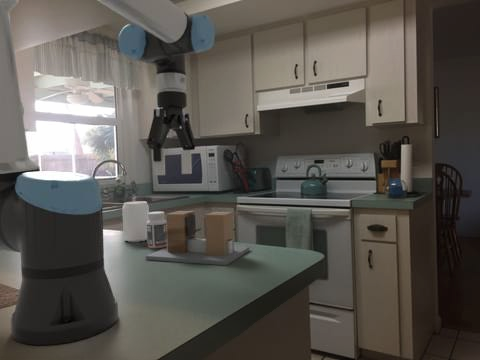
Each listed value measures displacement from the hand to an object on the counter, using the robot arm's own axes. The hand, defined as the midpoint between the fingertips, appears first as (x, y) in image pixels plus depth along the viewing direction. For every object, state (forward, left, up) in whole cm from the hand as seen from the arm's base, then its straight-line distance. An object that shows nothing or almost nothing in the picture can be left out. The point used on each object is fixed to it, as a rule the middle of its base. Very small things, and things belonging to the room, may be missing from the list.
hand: (174, 174), depth 109 cm
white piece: (+15, +23, -21) cm, 35 cm away
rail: (+1, -6, -21) cm, 22 cm away
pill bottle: (+8, +11, -21) cm, 25 cm away
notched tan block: (+1, -1, -20) cm, 20 cm away
